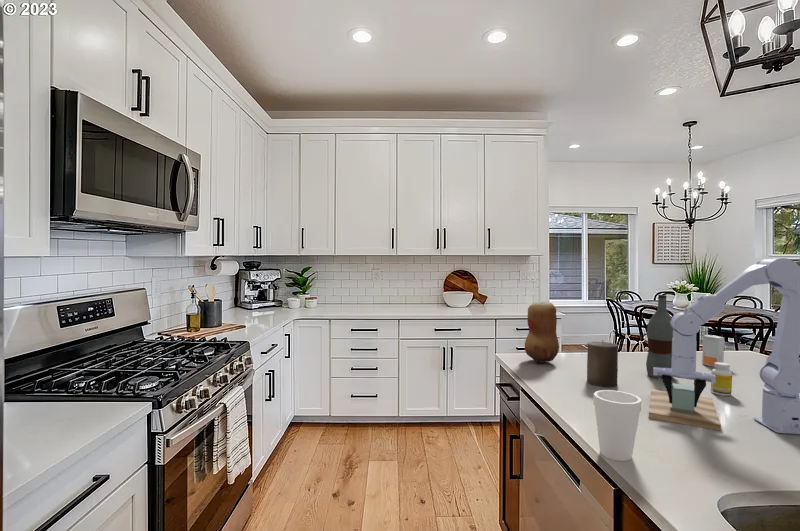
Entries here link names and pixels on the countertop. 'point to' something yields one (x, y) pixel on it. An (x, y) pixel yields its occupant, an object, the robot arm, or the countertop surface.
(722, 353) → the skincare box
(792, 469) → the countertop surface
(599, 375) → the pillar candle
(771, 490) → the countertop surface
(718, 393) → the supplement bottle
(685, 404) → the block
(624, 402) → the foam cup
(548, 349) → the butternut squash
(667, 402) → the oak board
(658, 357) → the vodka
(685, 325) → the robot arm
